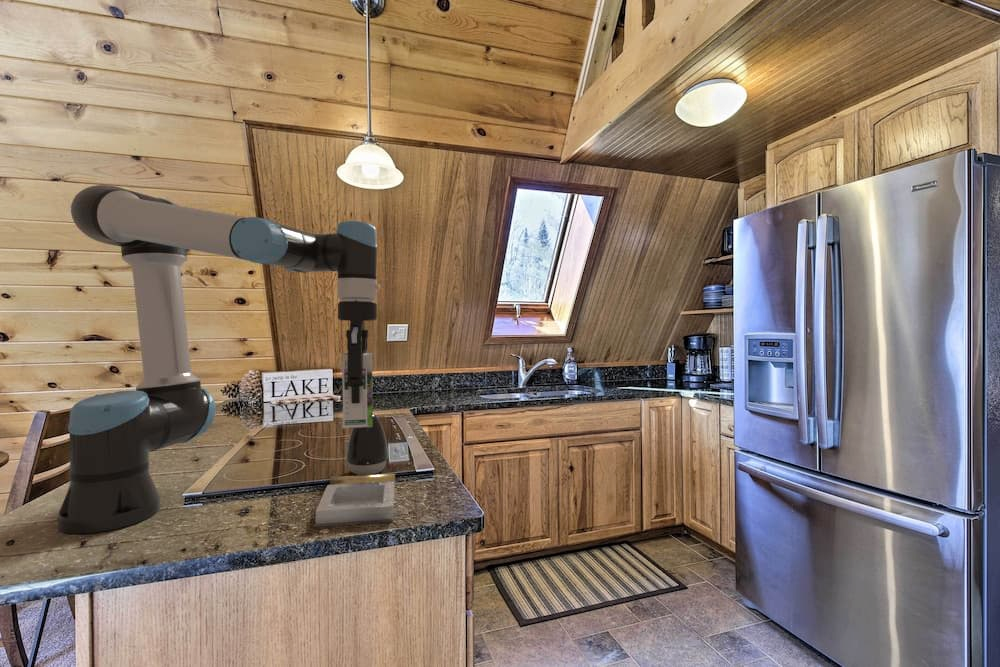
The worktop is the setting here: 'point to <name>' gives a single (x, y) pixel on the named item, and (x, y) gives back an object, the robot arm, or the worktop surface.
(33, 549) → the worktop surface
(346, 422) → the syrup box
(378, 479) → the brass rod
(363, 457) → the black egg shape
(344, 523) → the collar
